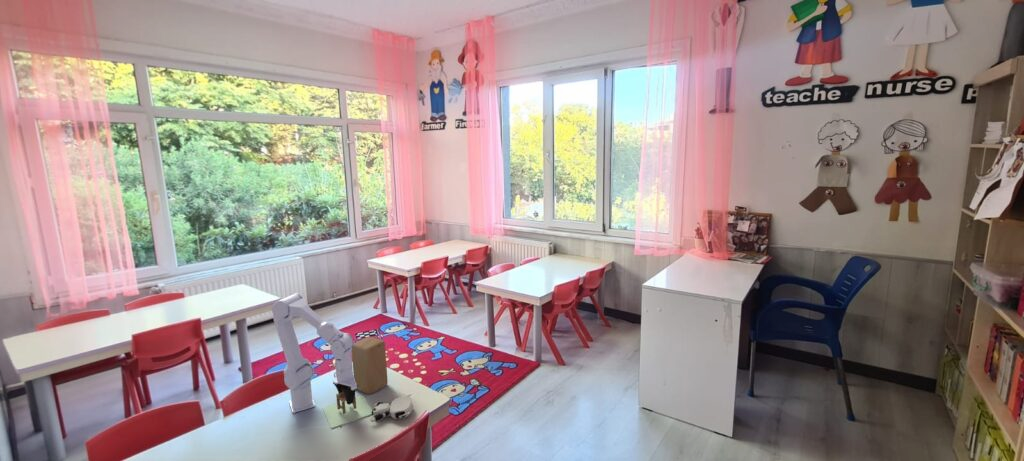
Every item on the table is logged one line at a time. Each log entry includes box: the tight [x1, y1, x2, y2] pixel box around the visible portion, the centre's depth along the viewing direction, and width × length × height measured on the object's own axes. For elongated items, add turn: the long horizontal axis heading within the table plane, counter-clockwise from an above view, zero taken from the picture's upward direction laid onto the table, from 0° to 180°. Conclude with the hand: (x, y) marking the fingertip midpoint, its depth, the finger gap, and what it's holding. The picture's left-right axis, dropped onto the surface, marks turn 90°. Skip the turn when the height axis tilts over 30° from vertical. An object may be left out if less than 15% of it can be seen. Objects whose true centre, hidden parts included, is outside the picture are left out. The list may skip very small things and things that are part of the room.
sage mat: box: [322, 394, 373, 430], centre depth 160 cm, size 15×15×1 cm
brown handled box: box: [335, 392, 357, 414], centre depth 159 cm, size 5×5×6 cm
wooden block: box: [350, 336, 388, 395], centre depth 175 cm, size 10×10×20 cm
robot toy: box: [369, 393, 414, 423], centre depth 157 cm, size 12×4×15 cm
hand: (346, 400), depth 159 cm, fingers closed on brown handled box, 5 cm apart
